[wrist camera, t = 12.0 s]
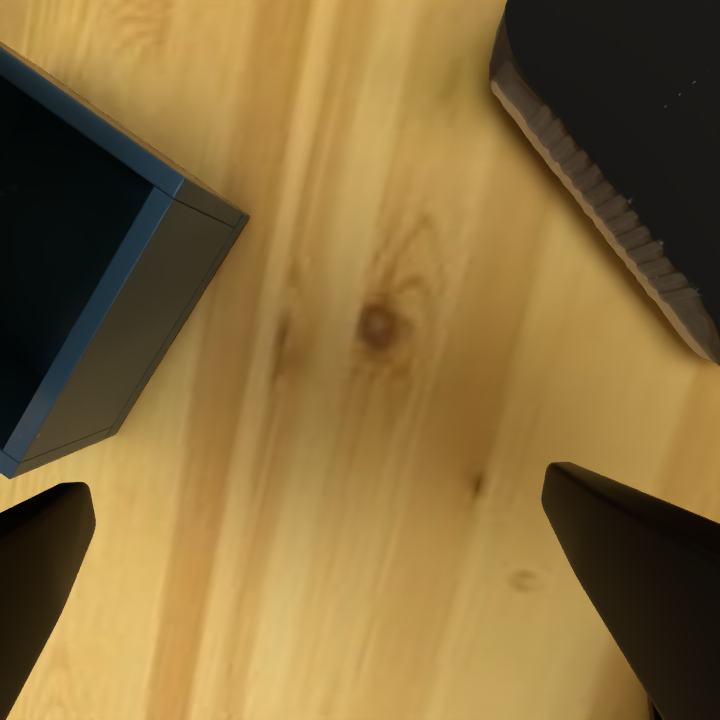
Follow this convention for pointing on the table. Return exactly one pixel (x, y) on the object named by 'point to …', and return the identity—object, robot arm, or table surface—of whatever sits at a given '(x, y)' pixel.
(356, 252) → the table surface
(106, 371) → the compartment
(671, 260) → the black sponge
